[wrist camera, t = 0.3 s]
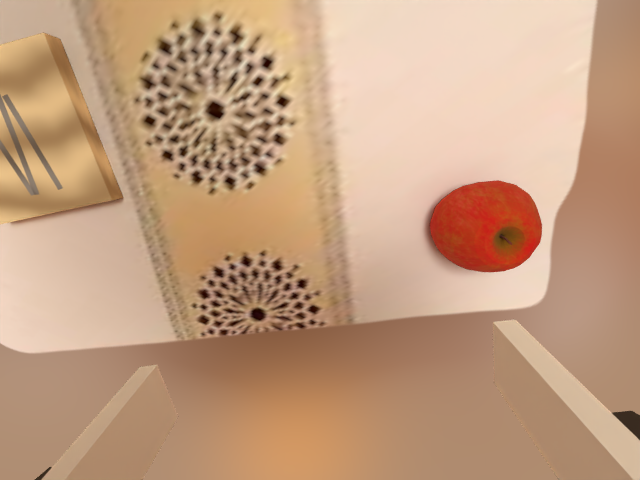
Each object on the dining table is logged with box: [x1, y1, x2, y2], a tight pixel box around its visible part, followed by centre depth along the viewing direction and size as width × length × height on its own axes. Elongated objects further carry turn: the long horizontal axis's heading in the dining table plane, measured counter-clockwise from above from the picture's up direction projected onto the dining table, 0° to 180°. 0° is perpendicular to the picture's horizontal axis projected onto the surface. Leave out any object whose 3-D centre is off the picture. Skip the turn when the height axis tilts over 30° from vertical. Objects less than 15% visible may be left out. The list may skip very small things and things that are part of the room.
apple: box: [430, 181, 542, 272], centre depth 32 cm, size 10×10×10 cm
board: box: [0, 33, 123, 224], centre depth 36 cm, size 18×16×2 cm
